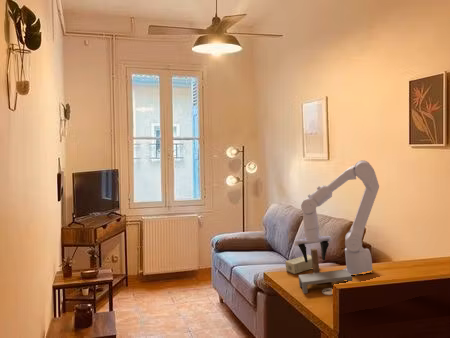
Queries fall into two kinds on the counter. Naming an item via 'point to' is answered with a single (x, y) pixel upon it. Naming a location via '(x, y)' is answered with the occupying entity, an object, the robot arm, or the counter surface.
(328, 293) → the steel token
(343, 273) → the u-shaped block
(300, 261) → the skincare box
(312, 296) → the counter surface
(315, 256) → the brown piece
